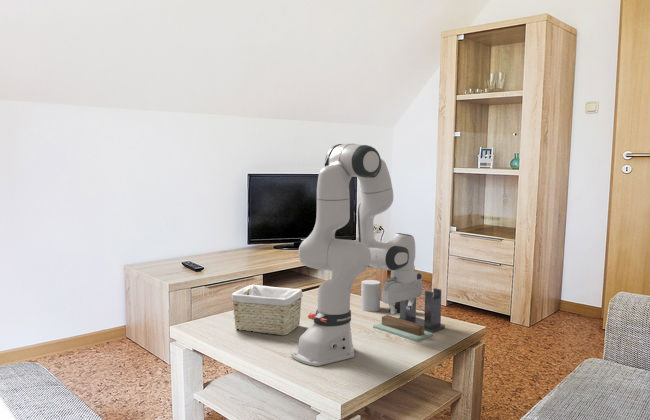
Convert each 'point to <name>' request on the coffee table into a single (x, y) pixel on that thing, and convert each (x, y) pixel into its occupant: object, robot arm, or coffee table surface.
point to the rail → (403, 325)
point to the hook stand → (431, 312)
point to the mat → (402, 332)
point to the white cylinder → (370, 295)
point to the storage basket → (267, 309)
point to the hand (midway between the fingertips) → (401, 311)
